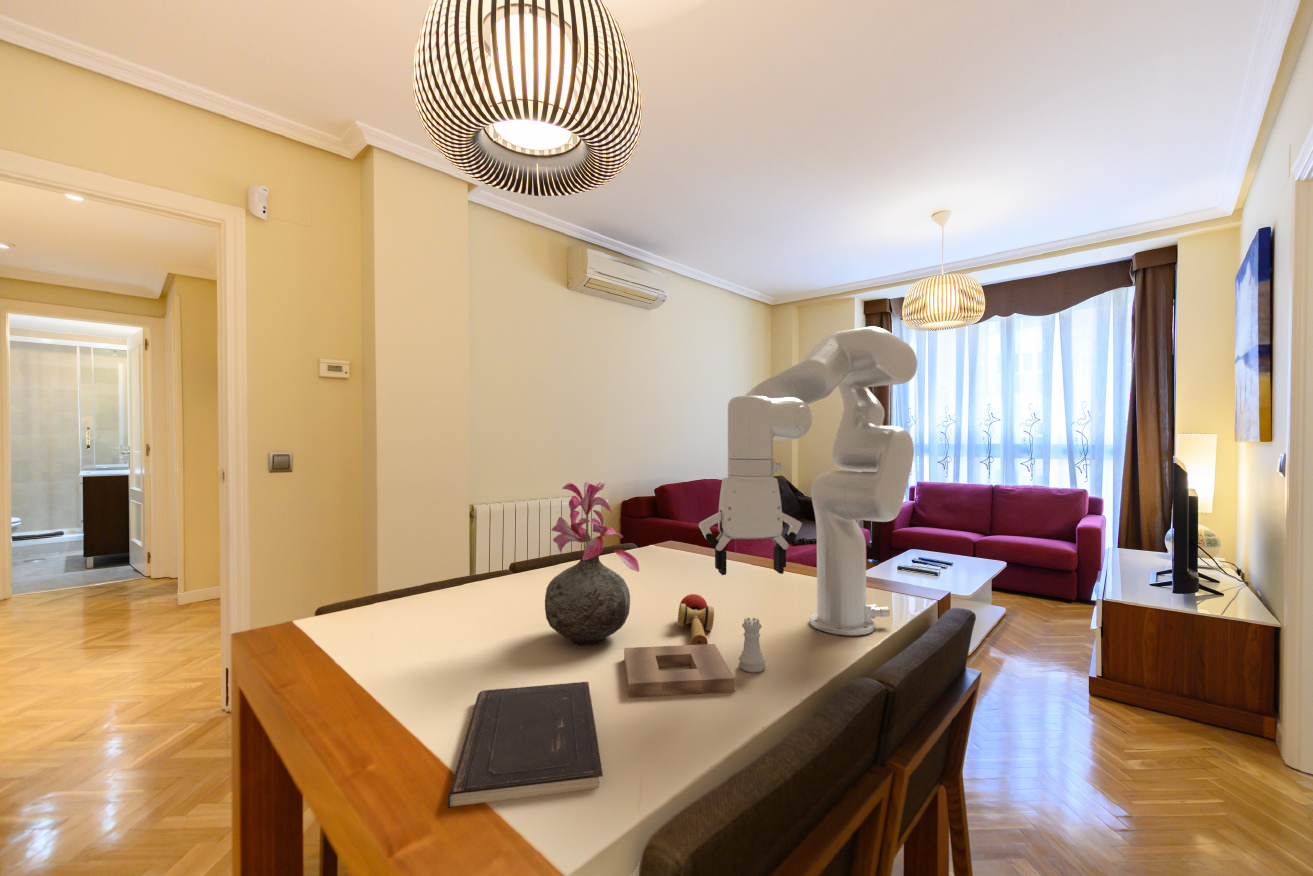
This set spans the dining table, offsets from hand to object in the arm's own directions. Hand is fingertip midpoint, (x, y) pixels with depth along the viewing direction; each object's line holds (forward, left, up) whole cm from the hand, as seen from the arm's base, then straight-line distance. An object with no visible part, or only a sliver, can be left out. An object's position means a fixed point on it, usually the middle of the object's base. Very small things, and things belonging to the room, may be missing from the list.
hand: (750, 572), depth 90 cm
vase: (+27, -17, -16) cm, 36 cm away
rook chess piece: (0, 0, -16) cm, 16 cm away
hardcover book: (+34, +18, -17) cm, 42 cm away
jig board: (+13, +1, -16) cm, 20 cm away
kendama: (+6, -18, -16) cm, 25 cm away
